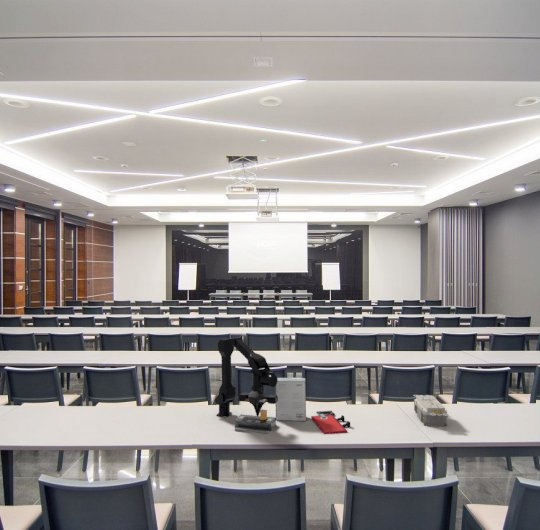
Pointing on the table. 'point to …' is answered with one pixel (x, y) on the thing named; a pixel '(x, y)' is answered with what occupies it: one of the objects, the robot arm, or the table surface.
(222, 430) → the table surface
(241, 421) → the strip
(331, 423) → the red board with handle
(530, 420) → the table surface
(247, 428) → the dark grey thin bar
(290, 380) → the hard drive box
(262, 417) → the lever
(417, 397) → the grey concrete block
